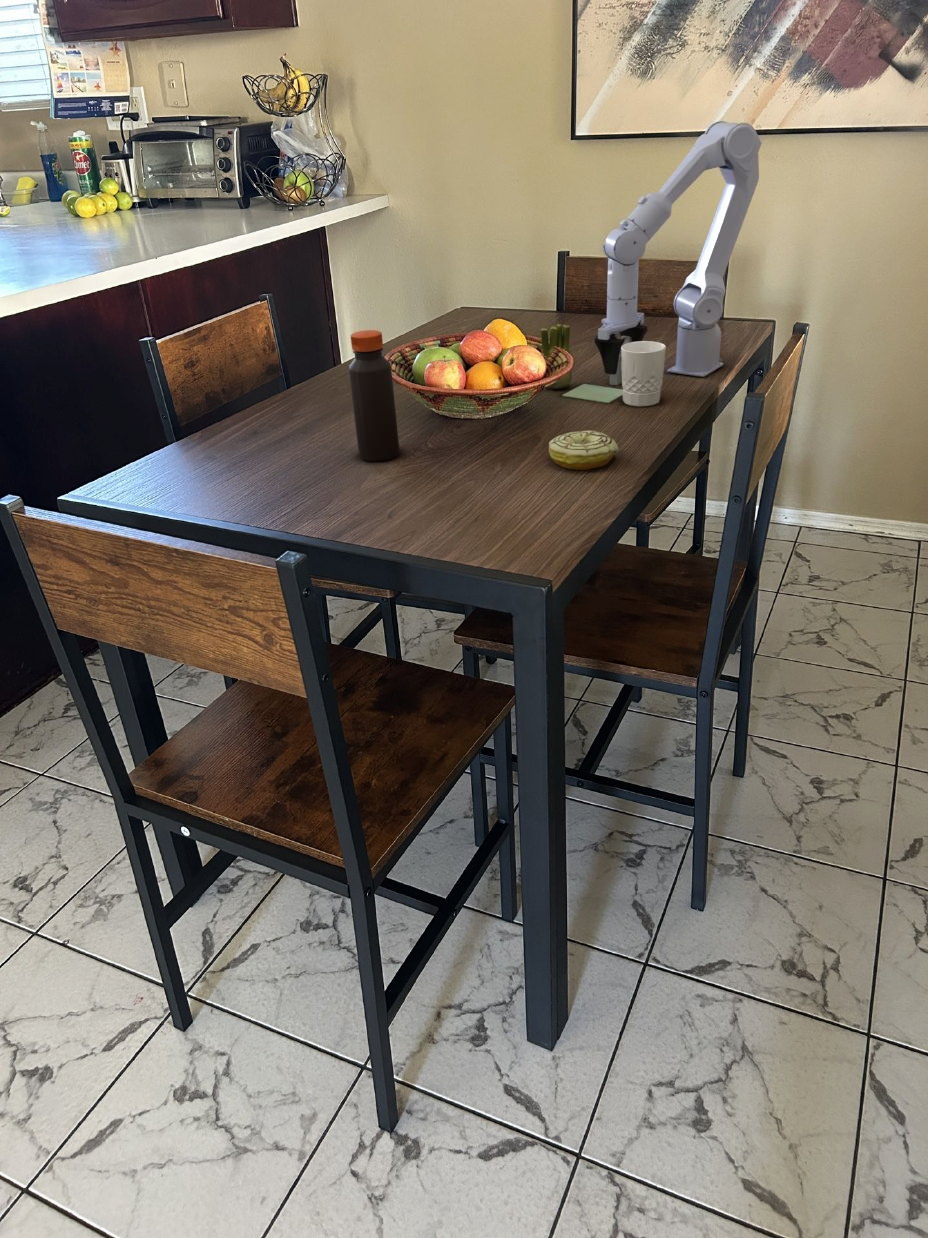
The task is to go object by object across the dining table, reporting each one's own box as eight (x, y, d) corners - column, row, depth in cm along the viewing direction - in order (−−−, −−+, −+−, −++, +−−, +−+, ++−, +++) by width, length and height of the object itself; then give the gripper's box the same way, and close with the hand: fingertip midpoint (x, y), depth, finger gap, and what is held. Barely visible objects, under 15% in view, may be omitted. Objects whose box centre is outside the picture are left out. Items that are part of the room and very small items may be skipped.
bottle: (382, 445, 160) (369, 326, 150) (408, 453, 156) (396, 331, 145) (351, 456, 156) (335, 335, 146) (376, 465, 152) (362, 341, 141)
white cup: (661, 393, 175) (664, 340, 170) (664, 407, 168) (667, 351, 163) (618, 395, 176) (620, 341, 171) (620, 408, 169) (622, 353, 164)
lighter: (617, 385, 181) (618, 343, 177) (609, 384, 182) (610, 343, 178) (630, 375, 187) (632, 334, 182) (622, 374, 187) (623, 334, 183)
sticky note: (583, 384, 183) (583, 383, 183) (629, 391, 177) (629, 390, 177) (562, 395, 178) (562, 394, 177) (608, 403, 172) (608, 402, 172)
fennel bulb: (540, 391, 181) (539, 328, 175) (543, 384, 185) (542, 322, 179) (570, 391, 180) (570, 328, 174) (572, 383, 184) (572, 321, 178)
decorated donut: (629, 457, 148) (630, 434, 146) (589, 478, 142) (590, 454, 140) (577, 444, 155) (577, 422, 153) (536, 463, 148) (535, 440, 146)
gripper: (622, 287, 183) (620, 356, 190) (584, 302, 174) (583, 375, 180) (654, 290, 179) (651, 360, 186) (617, 306, 170) (615, 379, 177)
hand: (620, 368), depth 183 cm, fingers open, 7 cm apart
